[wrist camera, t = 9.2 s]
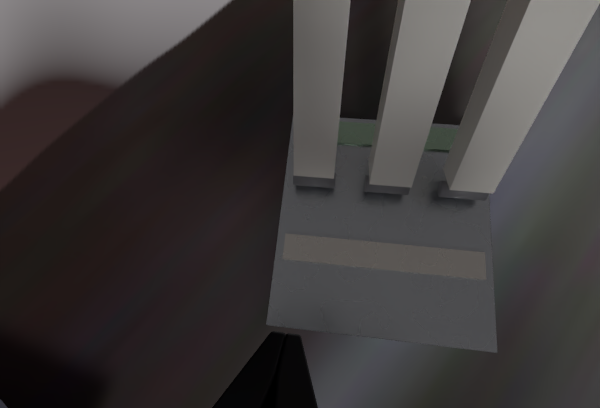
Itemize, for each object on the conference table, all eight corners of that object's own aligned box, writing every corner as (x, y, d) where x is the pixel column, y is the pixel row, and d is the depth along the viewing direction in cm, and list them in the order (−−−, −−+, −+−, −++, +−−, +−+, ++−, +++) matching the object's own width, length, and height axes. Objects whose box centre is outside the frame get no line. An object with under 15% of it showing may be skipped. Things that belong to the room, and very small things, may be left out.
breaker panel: (484, 348, 19) (499, 353, 18) (270, 323, 21) (265, 325, 19) (475, 137, 23) (487, 125, 22) (294, 125, 24) (292, 113, 23)
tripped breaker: (333, 196, 20) (363, -103, 12) (291, 193, 20) (290, -103, 12) (335, 177, 22) (361, -98, 13) (296, 174, 22) (297, -98, 13)
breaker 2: (486, 210, 19) (661, -99, 10) (440, 206, 19) (570, -100, 10) (476, 187, 21) (621, -101, 11) (435, 183, 21) (543, -101, 12)
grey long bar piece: (408, 204, 20) (506, -100, 10) (364, 200, 20) (421, -99, 11) (404, 182, 21) (486, -101, 12) (363, 178, 21) (413, -101, 12)
